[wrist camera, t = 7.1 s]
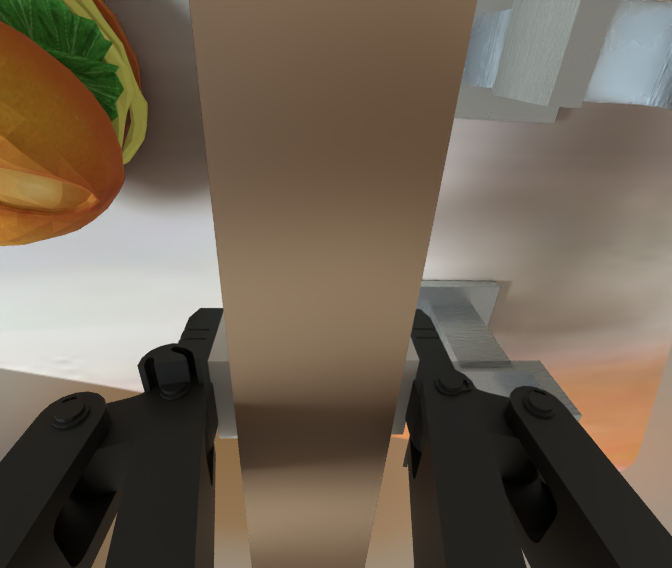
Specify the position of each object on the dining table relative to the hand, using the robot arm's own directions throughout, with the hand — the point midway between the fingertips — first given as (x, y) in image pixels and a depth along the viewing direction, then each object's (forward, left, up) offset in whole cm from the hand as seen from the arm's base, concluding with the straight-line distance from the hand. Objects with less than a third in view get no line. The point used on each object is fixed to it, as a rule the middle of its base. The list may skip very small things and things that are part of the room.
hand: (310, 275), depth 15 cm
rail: (0, 0, +4) cm, 4 cm away
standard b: (+1, +13, -8) cm, 15 cm away
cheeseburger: (-13, -5, -8) cm, 16 cm away
